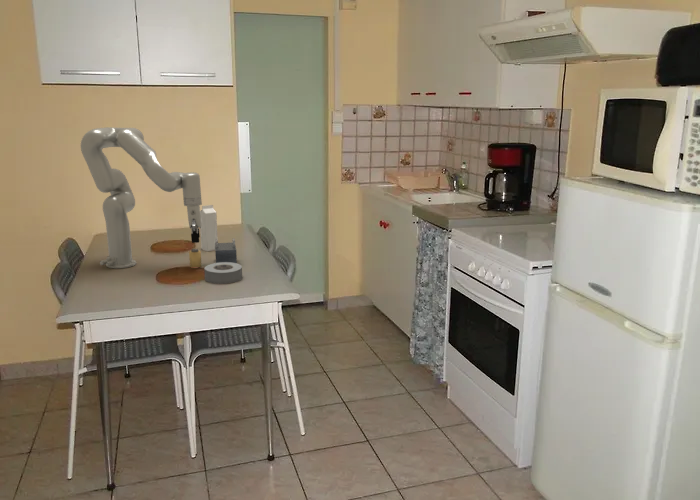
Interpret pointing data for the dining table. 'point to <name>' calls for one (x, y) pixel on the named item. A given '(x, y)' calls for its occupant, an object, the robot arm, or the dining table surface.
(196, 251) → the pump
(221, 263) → the tape roll
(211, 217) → the milk
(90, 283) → the dining table surface
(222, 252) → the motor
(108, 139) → the robot arm
